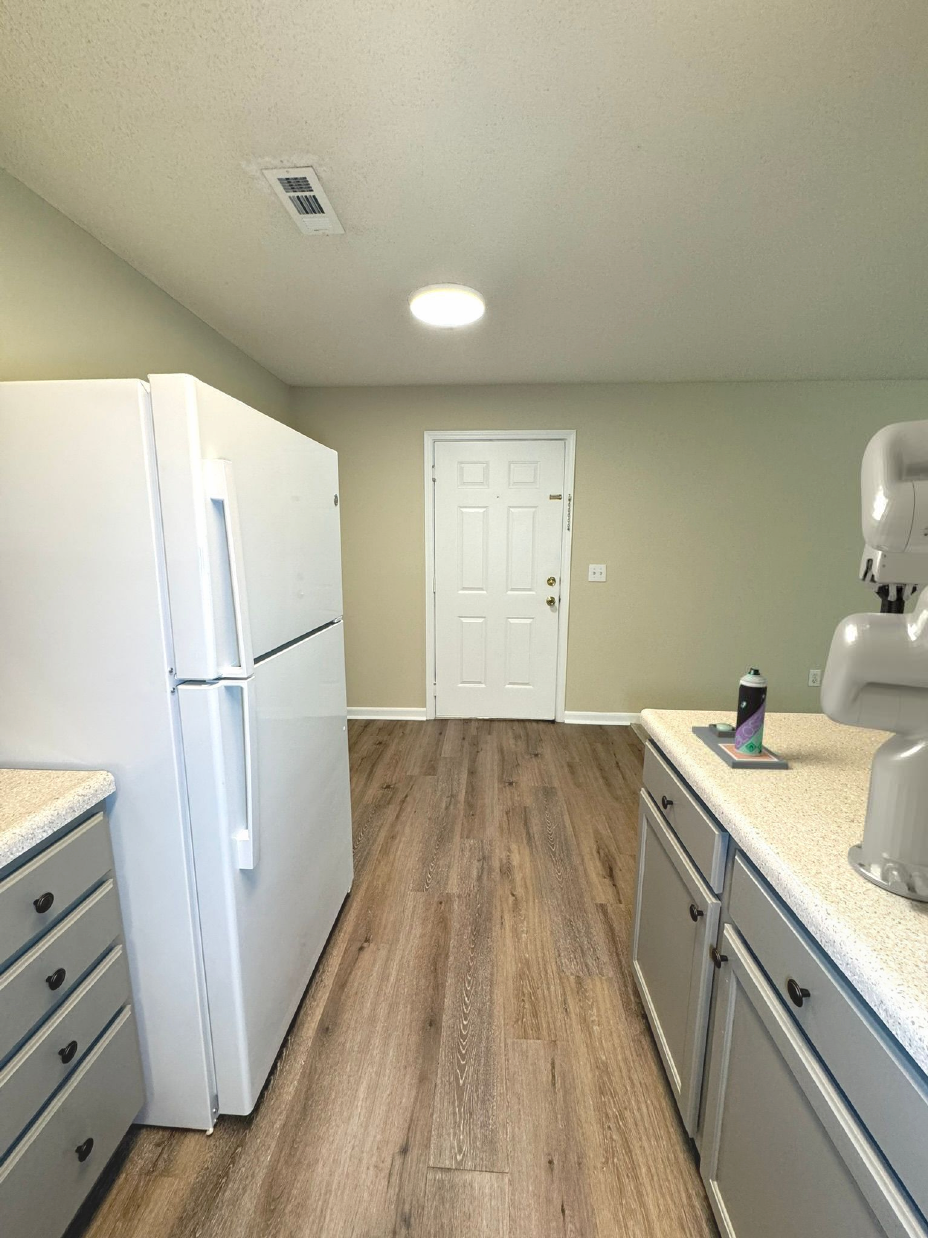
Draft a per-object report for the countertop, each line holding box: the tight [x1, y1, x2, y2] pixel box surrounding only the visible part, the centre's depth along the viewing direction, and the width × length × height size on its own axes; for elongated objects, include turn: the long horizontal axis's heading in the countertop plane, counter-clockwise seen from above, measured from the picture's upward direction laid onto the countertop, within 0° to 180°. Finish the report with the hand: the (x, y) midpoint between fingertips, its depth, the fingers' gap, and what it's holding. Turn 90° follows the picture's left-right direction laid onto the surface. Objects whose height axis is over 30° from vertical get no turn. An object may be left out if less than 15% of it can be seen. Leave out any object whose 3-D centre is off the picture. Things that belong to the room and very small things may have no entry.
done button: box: [716, 722, 734, 731], centre depth 126 cm, size 4×4×2 cm
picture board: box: [691, 723, 789, 770], centre depth 120 cm, size 22×12×3 cm, turn 177°
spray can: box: [734, 667, 768, 757], centre depth 113 cm, size 6×6×20 cm
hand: (890, 620), depth 93 cm, fingers closed
